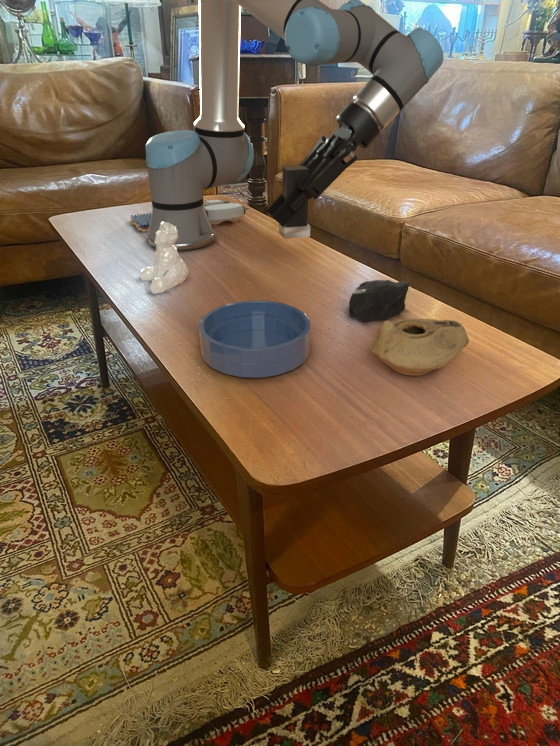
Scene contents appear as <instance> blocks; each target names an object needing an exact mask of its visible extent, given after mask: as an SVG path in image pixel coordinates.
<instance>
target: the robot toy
mask: <svg viewBox="0 0 560 746" xmlns="http://www.w3.org/2000/svg"><path fill="white" fill-rule="evenodd" d="M203 204H204V209H205V211H206V214H207V216H208V219H209V221H210V224H211V225H219V224H220V225H221V223H222V222H226V221H228V222H230V223H236V222H238V221H239V219H242V218H243V217H244V216H245V214H246V212H247V210H250V209H251V206H249V207H245V206H244V205H243V204H241V203H237V202H230V201H229V200H225V201H222V200H221V199H209V200H206V201H205V202H203Z"/></svg>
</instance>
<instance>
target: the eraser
mask: <svg viewBox="0 0 560 746" xmlns="http://www.w3.org/2000/svg"><path fill="white" fill-rule="evenodd" d="M308 177H309V169H308V168H306V167H305V166H299V165H295V166H294V165H291V166H282V183H281V184H282V186H281V187H282V191H281V194H282V204H283V203H284V202H285V201H286V199H287V198H288V197H289V196H290V195H291V194H292V193H293V192H294V191H295V189H296V188H297V185H298V184H299V185H301V186H302V185H303V184H304V182H305V181H306V180H307V179H308ZM297 189H298V188H297ZM298 190H299V189H298ZM299 191H300V190H299ZM308 213H309V199H308V200H307V201H306V202H305V203H304V204H303V205H302V206H301V208H300V209H299V210H298V211H297V212H296V213H295V214H294V215H293V216H292V218H291V219H290V220H289V221H288V222H287V223H286V224H285V225H284V226H283V227H282V226H281V225H280V224H279V223H278V234H279V235H280V236H281V237H282V238H283V239H284V240H287V239H288V240H289V239H300V238H310V237H311V225H310V224H309V223H308V217H309V216H308V215H309V214H308Z"/></svg>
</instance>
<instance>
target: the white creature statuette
mask: <svg viewBox="0 0 560 746" xmlns="http://www.w3.org/2000/svg"><path fill="white" fill-rule="evenodd" d="M159 228H160V229H159V231H157V232H156V236H155V237H156V238H155V241H154V243H155V244H157V245H156V246H157V247H156V248H155V251H154V255H153V257H154V265H153V266H147V267H145V268H143V269H141V270H140V277H141V279H140V280H141V281H150V282H151V283H150V285H149V287H150V291H151V293H152V294H154V295H156V294H161V293H164V292H165V291H168V290H171V289H173V288H175V287H177V286H179V285H181V284H183V283H184V281H185V280H186V279H187V278H188V274H189V268H188V266H187V265H186V263H185V261H184V260H183V258H181V256H180V254H179V251H177V249H176V247H175V246H174V244H175V242H176V241H177V240H178V230H177V229H176V227H175V226H173V225H172V224H170V223H169V222H167V223H166V222H164V221H162V222H161V223H160V227H159Z"/></svg>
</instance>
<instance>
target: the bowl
mask: <svg viewBox="0 0 560 746" xmlns="http://www.w3.org/2000/svg"><path fill="white" fill-rule="evenodd" d="M198 335H199V346H200V348H199V349H200V354H201V358H202V360H203V362H205V363H206V365H208V366H209V367H210V368H211V369H213V370H216V371H218V372H221V373H222V374H225V375H229V376H234V377H240V378H256V379H257V378H266V377H273V376H279V375H283V374H285V373H288V372H290V371H293V370H295V369H296V368H298V367H299V366H301V365H302V364H303V363H305V362H306V361H307V359H308V357H309V355H310V351H311V350H310V348H311V320H310V318H309V317H308V315H307V314H306V313H305V312H304V311H302V310H301V309H299V308H297V307H295V306H293V305H289V304H286V303H284V302H278V301H272V300H271V301H270V300H242V301H235V302H234V301H233V302H231V303H226V304H223V305H220V306H217V307H216V308H214V309H212V310H209V311H208V312H207V313H205V315H204V316H202V317H201V318H200V321H199V324H198Z"/></svg>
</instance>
